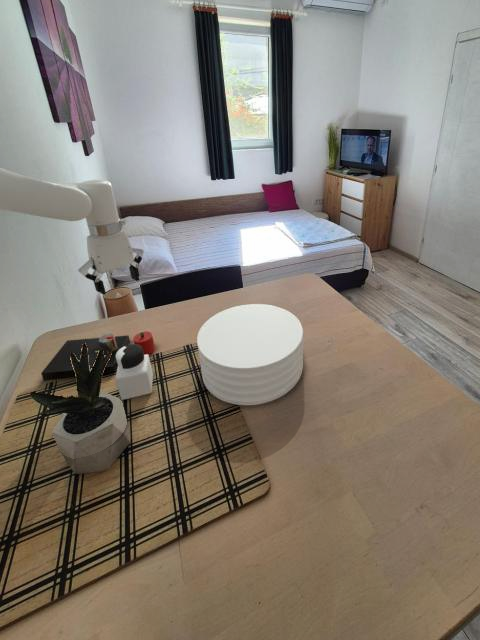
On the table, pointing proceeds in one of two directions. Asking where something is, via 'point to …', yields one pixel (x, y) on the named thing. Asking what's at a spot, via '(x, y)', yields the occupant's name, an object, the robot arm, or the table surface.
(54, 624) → the table surface
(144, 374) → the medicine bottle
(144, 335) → the pepper
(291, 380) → the plate stack
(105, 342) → the hob knob
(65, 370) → the hob
